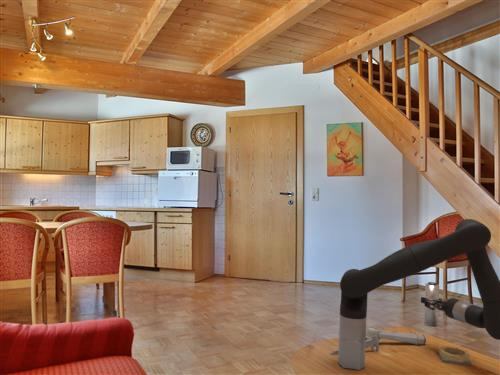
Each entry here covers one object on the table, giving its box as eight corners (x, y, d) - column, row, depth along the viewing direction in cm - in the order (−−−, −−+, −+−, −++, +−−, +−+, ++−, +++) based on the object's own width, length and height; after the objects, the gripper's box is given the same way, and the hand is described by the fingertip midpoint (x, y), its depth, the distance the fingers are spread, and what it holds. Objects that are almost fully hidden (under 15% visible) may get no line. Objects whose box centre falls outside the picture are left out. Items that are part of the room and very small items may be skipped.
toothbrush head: (427, 337, 166) (368, 327, 164) (424, 353, 166) (365, 344, 164) (421, 332, 172) (363, 323, 170) (418, 348, 171) (361, 339, 170)
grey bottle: (439, 327, 160) (440, 284, 161) (425, 325, 162) (426, 283, 162) (436, 323, 165) (438, 282, 166) (423, 322, 166) (424, 281, 167)
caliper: (377, 350, 160) (377, 334, 160) (378, 351, 159) (379, 335, 159) (329, 354, 155) (330, 337, 155) (331, 355, 154) (331, 338, 154)
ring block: (471, 365, 148) (472, 358, 148) (442, 361, 151) (442, 354, 151) (465, 355, 157) (465, 348, 158) (437, 352, 160) (437, 345, 160)
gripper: (476, 300, 152) (441, 289, 169) (446, 301, 148) (413, 290, 164) (475, 320, 152) (440, 307, 168) (445, 322, 148) (412, 309, 164)
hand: (427, 299), depth 166 cm, fingers closed on grey bottle, 5 cm apart
